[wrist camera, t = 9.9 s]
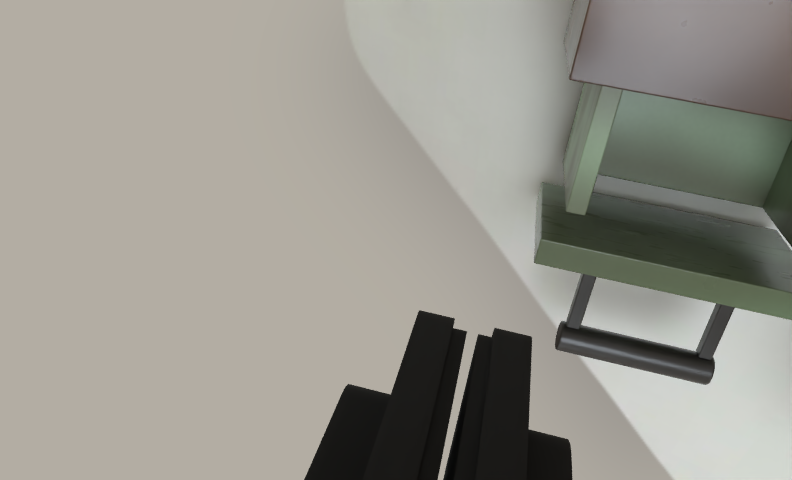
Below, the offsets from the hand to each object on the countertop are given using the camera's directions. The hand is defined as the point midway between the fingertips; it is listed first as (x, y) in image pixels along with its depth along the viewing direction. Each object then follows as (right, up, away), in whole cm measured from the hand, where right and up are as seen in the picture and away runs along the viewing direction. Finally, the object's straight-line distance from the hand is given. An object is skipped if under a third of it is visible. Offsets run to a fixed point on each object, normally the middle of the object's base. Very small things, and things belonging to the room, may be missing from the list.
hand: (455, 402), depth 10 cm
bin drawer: (+12, +7, +21) cm, 26 cm away
